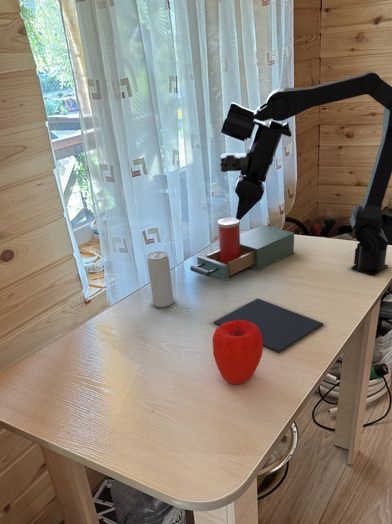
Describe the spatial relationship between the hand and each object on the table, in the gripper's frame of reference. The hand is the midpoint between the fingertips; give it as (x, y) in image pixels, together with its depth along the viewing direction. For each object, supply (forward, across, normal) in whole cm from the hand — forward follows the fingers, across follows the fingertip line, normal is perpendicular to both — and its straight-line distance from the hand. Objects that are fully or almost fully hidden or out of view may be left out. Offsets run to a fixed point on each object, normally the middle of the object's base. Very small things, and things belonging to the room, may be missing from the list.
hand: (239, 213), depth 124 cm
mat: (+11, +28, +12) cm, 32 cm away
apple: (+13, +47, +8) cm, 50 cm away
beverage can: (+21, +18, -10) cm, 29 cm away
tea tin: (+13, -1, +2) cm, 13 cm away
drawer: (+15, +1, +1) cm, 15 cm away
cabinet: (+12, -10, +10) cm, 18 cm away
